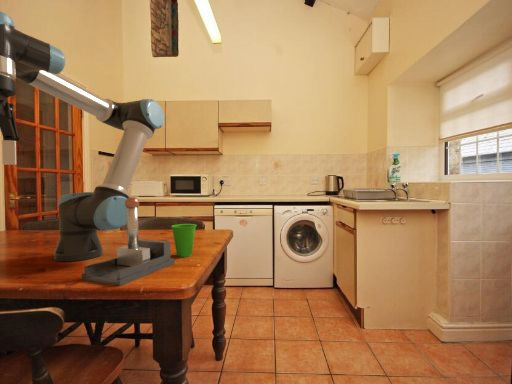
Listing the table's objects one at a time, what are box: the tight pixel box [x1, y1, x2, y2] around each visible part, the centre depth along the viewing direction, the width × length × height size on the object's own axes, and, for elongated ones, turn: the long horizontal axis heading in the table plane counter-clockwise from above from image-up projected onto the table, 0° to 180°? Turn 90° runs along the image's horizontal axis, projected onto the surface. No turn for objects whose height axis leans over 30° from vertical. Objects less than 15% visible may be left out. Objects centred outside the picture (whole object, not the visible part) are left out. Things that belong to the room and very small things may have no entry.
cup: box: [170, 223, 197, 258], centre depth 102 cm, size 9×9×11 cm
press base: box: [81, 238, 176, 287], centre depth 84 cm, size 22×14×8 cm, turn 158°
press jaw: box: [116, 196, 150, 266], centre depth 85 cm, size 4×10×20 cm, turn 68°
